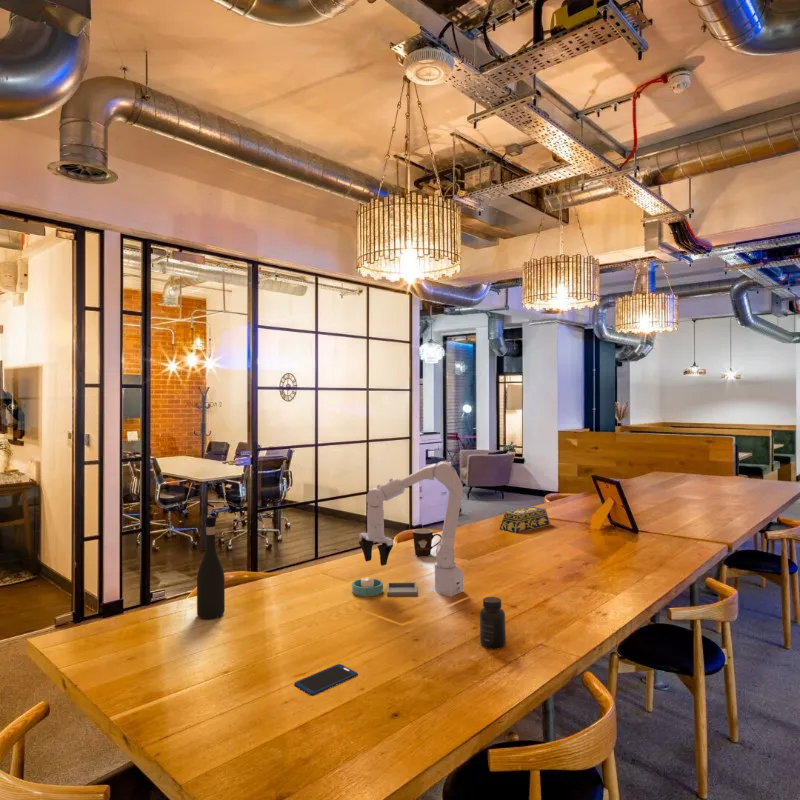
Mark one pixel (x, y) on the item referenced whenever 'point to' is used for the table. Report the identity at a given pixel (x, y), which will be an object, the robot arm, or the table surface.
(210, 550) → the wine bottle
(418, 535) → the coffee mug
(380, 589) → the bowl
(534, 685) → the table surface
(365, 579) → the stone
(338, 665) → the cell phone
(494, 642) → the supplement bottle
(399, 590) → the parts tray
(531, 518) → the decorative box
